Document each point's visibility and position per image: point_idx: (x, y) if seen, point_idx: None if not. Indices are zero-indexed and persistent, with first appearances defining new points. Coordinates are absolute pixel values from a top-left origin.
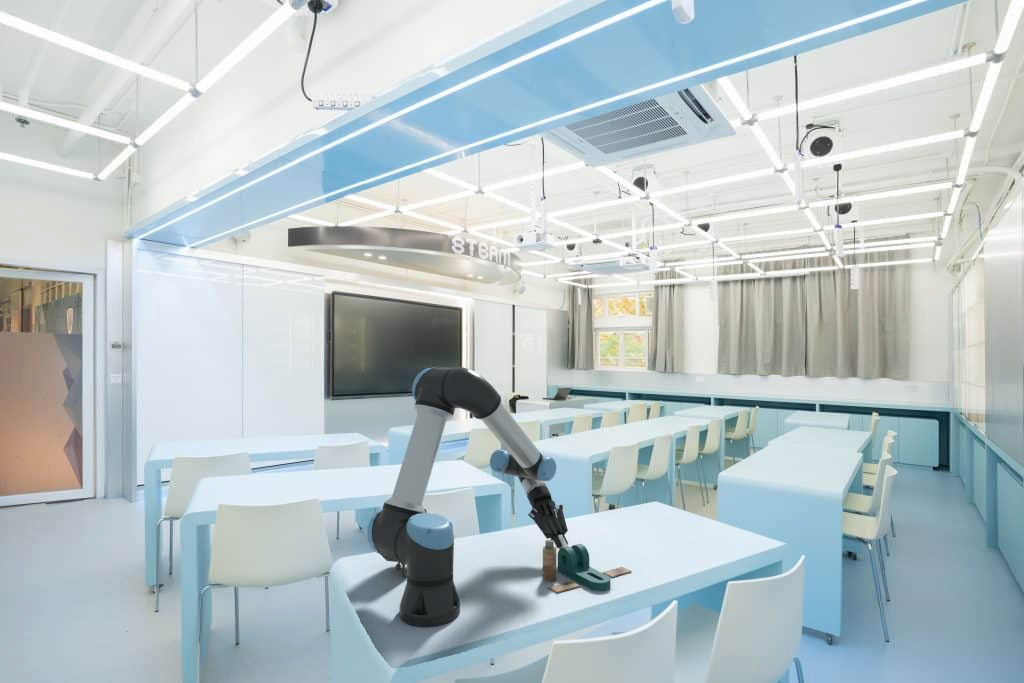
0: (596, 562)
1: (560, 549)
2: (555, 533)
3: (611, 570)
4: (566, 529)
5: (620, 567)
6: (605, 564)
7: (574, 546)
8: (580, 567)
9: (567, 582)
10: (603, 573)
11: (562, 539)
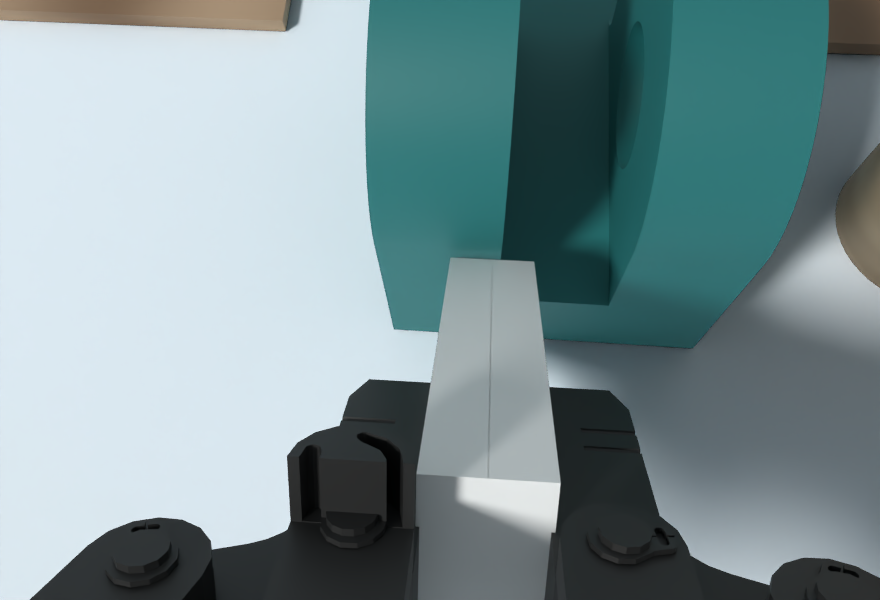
0: (50, 293)
1: (814, 109)
2: (651, 539)
3: (168, 3)
4: (130, 549)
5: (21, 7)
6: (29, 187)
7: (518, 22)
8: (529, 60)
9: None
10: (287, 14)
11: (494, 399)
